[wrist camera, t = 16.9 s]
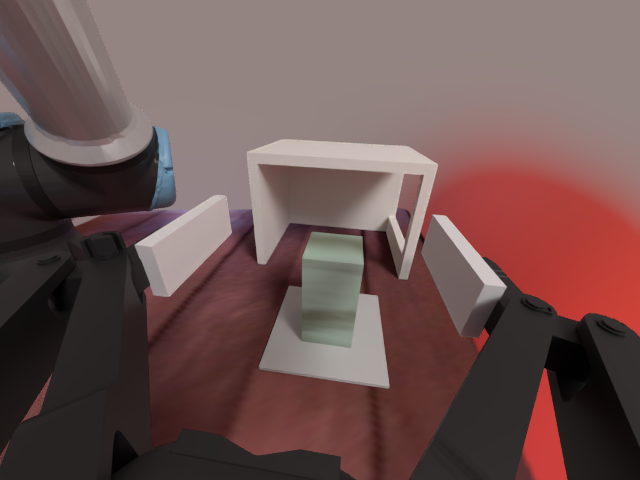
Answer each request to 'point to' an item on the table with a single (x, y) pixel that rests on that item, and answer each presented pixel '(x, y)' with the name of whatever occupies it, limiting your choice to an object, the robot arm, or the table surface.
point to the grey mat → (328, 346)
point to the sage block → (331, 288)
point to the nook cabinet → (336, 191)
